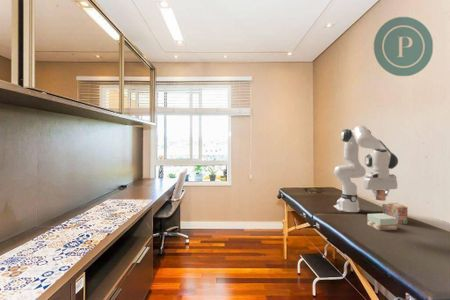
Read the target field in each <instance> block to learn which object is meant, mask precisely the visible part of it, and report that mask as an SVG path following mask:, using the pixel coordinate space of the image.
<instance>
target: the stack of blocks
mask: <svg viewBox="0 0 450 300" xmlns="http://www.w3.org/2000/svg"><path fill="white" fill-rule="evenodd" d="M408 210H409V209H408V206H405V205H403V204H401V203H398V202H388V203H382V213H384V214H386V215H389V216H392V217H395V218H397V225H400V224H401V225H407V224H408Z"/></svg>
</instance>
